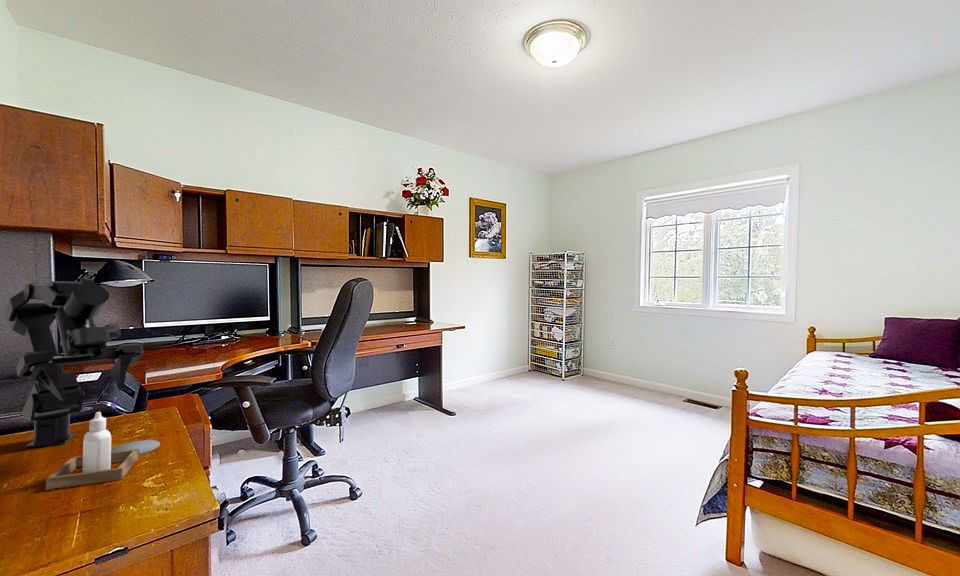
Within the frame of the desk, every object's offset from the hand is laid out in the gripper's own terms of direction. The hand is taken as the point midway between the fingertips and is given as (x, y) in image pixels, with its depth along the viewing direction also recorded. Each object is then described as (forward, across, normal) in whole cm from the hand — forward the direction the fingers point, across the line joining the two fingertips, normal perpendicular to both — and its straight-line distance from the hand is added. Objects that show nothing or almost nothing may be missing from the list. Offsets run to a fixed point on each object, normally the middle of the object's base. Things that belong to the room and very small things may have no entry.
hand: (93, 394), depth 84 cm
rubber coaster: (+11, +8, +10) cm, 17 cm away
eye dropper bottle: (+15, -1, +4) cm, 16 cm away
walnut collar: (+15, -1, +4) cm, 16 cm away
